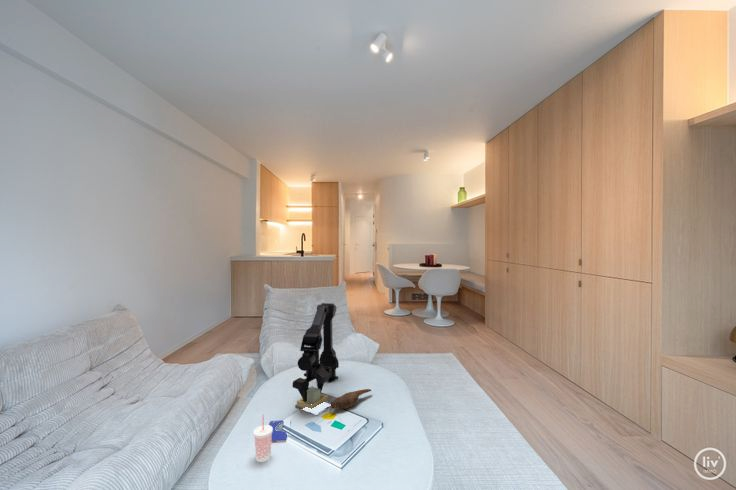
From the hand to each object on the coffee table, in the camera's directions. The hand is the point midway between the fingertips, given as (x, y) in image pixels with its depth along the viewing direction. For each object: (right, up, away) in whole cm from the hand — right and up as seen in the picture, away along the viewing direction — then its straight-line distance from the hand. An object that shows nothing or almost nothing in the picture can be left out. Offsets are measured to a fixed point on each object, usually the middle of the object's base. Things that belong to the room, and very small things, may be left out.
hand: (312, 397), depth 138 cm
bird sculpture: (+16, -4, 0) cm, 17 cm away
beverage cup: (-11, -4, -33) cm, 35 cm away
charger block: (0, -3, 0) cm, 2 cm away
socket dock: (+2, -4, +1) cm, 4 cm away
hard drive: (-10, -5, -19) cm, 22 cm away
